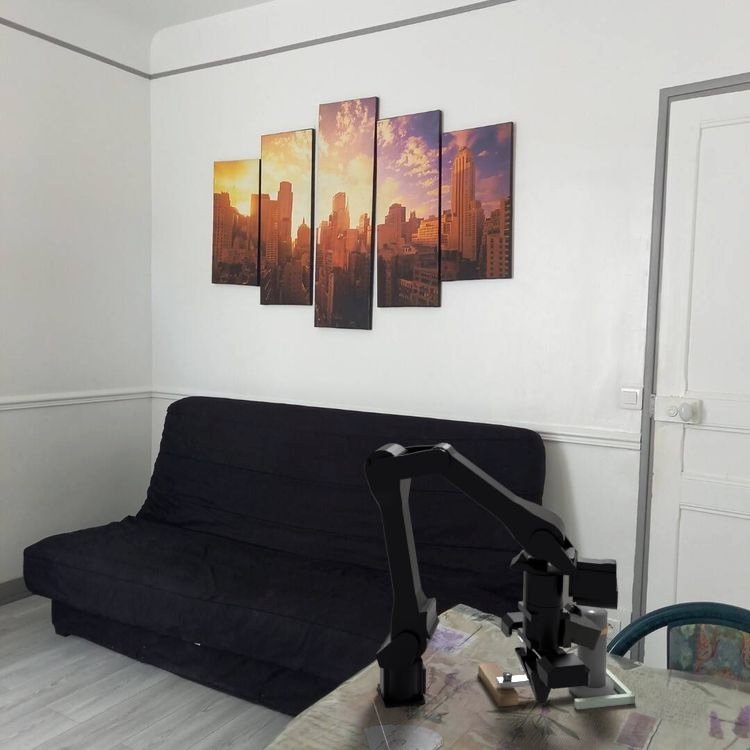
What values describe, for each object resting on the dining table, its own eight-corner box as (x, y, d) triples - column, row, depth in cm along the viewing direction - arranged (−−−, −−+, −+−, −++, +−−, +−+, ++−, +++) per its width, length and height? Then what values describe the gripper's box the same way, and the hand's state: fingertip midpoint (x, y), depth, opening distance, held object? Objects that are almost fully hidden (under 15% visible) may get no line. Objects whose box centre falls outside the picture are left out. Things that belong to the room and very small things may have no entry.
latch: (500, 689, 108) (500, 677, 108) (496, 683, 110) (496, 672, 109) (578, 681, 110) (579, 670, 110) (574, 676, 112) (574, 665, 112)
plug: (580, 703, 108) (582, 621, 107) (561, 681, 114) (563, 603, 113) (621, 699, 109) (624, 618, 108) (600, 677, 116) (602, 600, 115)
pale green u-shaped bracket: (576, 709, 106) (576, 701, 106) (549, 677, 116) (549, 670, 115) (634, 703, 108) (635, 695, 108) (603, 672, 117) (604, 665, 117)
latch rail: (499, 706, 107) (499, 695, 107) (478, 674, 117) (478, 664, 117) (518, 704, 107) (518, 694, 107) (495, 672, 117) (495, 662, 117)
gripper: (627, 623, 95) (624, 733, 96) (566, 573, 113) (564, 667, 114) (550, 629, 93) (547, 742, 94) (500, 578, 111) (498, 673, 112)
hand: (541, 702), depth 104 cm, fingers closed
